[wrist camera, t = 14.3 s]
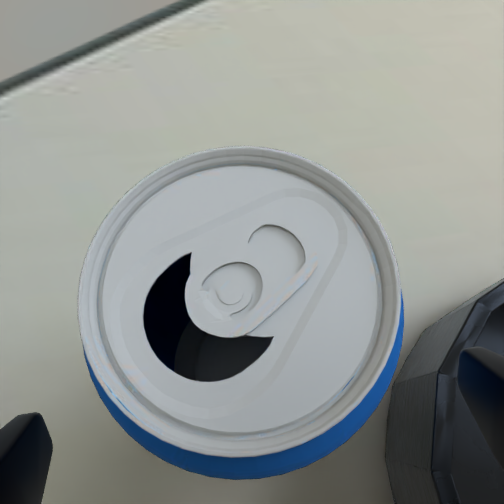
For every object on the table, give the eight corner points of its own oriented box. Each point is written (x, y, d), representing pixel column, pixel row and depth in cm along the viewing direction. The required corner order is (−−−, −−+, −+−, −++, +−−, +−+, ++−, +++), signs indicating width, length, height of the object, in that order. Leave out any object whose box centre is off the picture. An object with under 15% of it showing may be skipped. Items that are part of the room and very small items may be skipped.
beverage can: (147, 363, 19) (-20, 274, 8) (255, 266, 20) (246, 75, 9) (248, 485, 17) (224, 604, 6) (358, 368, 18) (505, 285, 7)
